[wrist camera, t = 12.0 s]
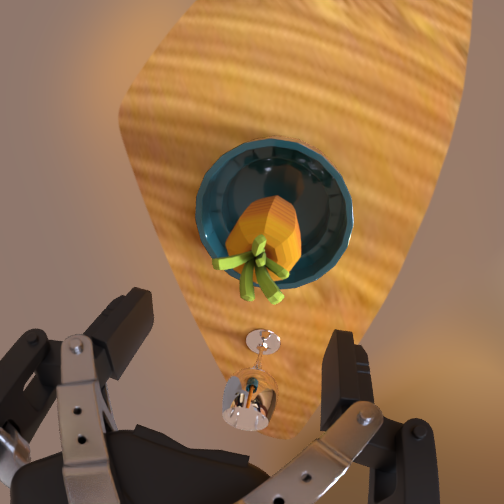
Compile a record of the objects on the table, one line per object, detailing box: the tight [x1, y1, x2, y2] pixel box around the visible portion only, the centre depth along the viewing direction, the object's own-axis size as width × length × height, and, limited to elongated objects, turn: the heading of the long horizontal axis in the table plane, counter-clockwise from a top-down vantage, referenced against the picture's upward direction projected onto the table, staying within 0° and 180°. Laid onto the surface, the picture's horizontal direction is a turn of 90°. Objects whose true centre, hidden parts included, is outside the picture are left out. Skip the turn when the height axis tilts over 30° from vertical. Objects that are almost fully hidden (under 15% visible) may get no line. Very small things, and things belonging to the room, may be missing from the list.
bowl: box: [195, 136, 354, 289], centre depth 26 cm, size 13×13×5 cm
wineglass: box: [223, 329, 281, 431], centre depth 31 cm, size 6×6×12 cm
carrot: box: [212, 195, 301, 305], centre depth 21 cm, size 5×5×15 cm
